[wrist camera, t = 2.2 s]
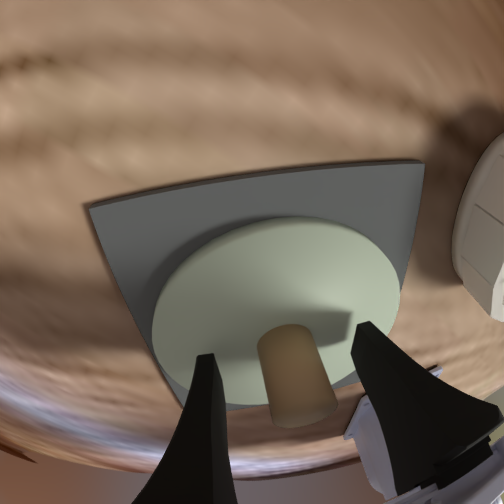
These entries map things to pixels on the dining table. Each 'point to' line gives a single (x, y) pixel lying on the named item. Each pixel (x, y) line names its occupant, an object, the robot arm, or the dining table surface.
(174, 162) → the dining table surface
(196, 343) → the lid
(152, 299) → the mat
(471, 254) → the bowl
